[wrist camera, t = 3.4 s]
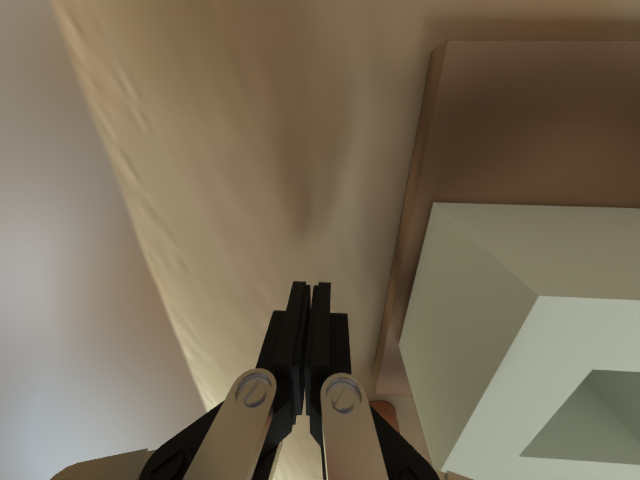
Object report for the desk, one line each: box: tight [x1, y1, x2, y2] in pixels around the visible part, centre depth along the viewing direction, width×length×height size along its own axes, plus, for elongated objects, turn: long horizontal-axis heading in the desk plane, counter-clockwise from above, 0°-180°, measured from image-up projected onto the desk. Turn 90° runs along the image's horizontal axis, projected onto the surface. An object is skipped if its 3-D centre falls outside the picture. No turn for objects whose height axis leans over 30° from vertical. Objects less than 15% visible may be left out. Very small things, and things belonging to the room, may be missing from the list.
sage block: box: [399, 202, 640, 480], centre depth 10 cm, size 9×9×6 cm
